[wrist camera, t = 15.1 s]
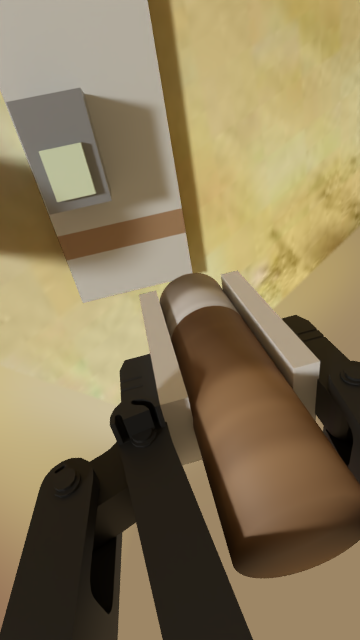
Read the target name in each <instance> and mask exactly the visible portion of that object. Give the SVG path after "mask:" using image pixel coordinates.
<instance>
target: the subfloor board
mask: <svg viewBox="0 0 360 640" xmlns="http://www.w3.org/2000/svg"><path fill="white" fill-rule="evenodd" d="M75 88H81V89H82V91H83V92H84V94H85V98H86V101H87V105H88V109H89V112H90V116H91V120H92V123H93V127H94V130H95V134H96V138H97V141H98V145H99V149H100V152H101V156H102V160H103V163H104V167H105V171H106V174H107V178H108V181H109V185H110V189H111V197H112V201H109V202H105V203H100V204H96V205H91V206H87V207H82V208H78V209H73V210H69V211H65V212H60V213H56V214H51V215H50V214H49V211H48V209H47V206H46V204H45V201H44V199H43V196H42V193H41V191H40V188H39V186H38V183H37V181H36V178H35V175H34V173H33V170H32V168H31V165H30V163H29V160H28V157H27V155H26V152H25V150H24V147H23V144H22V142H21V139H20V137H19V134H18V132H17V129H16V126H15V124H14V121H13V119H12V116H11V114H10V111H9V108H8V106H7V103H6V102H9V101H14V100H19V99H24V98H29V97H34V96H39V95H44V94H50V93H55V92H60V91H65V90H70V89H75ZM0 91H1V93H2V96H3V98H4V101H5V103H6V106H7V109H8V111H9V114H10V116H11V119H12V121H13V124H14V127H15V129H16V132H17V134H18V137H19V139H20V142H21V145H22V147H23V150H24V152H25V155H26V158H27V160H28V163H29V165H30V168H31V170H32V173H33V176H34V178H35V181H36V183H37V186H38V188H39V191H40V194H41V196H42V199H43V201H44V204H45V206H46V209H47V212H48V214H49V217H50V219H51V222H52V224H53V227H54V230H55V232H56V235H57V237H58V240H59V242H60V245H61V248H62V250H63V253H64V255H65V258H66V261H67V263H68V266H69V268H70V271H71V273H72V276H73V279H74V281H75V284H76V286H77V289H78V291H79V294H80V297H81V299H82V302H83V303H85V302H89V301H93V300H97V299H101V298H105V297H109V296H113V295H117V294H121V293H125V292H129V291H133V290H137V289H141V288H146V287H150V286H154V285H158V284H162V283H166V282H170V281H173V280H174V279H176V278H178V277H180V276H182V275H185V274H190V273H192V267H191V261H190V255H189V249H188V243H187V237H186V230H185V224H184V218H183V212H182V206H181V200H180V194H179V188H178V182H177V176H176V170H175V164H174V158H173V152H172V146H171V140H170V134H169V127H168V121H167V115H166V109H165V103H164V97H163V91H162V85H161V79H160V73H159V67H158V61H157V55H156V49H155V43H154V37H153V31H152V24H151V18H150V12H149V6H148V0H0Z"/></svg>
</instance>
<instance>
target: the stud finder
mask: <svg viewBox="0 0 360 640" xmlns="http://www.w3.org/2000/svg"><path fill="white" fill-rule="evenodd" d="M6 103H7V106H8V108H9V111H10V114H11V116H12V119H13V121H14V124H15V126H16V129H17V132H18V134H19V137H20V139H21V142H22V144H23V147H24V150H25V152H26V155H27V157H28V160H29V163H30V165H31V168H32V170H33V173H34V175H35V178H36V181H37V183H38V186H39V188H40V191H41V193H42V196H43V199H44V201H45V204H46V206H47V209H48V211H49V214H50V215H51V214H56V213H60V212H65V211H69V210H73V209H78V208H82V207H87V206H91V205H96V204H100V203H105V202H109V201H112V197H111V189H110V185H109V181H108V178H107V174H106V171H105V167H104V163H103V160H102V156H101V152H100V149H99V145H98V141H97V138H96V134H95V130H94V127H93V123H92V120H91V116H90V112H89V109H88V105H87V101H86V98H85V94H84V92H83V91H82V89H81V88H75V89H70V90H65V91H60V92H55V93H50V94H44V95H39V96H34V97H29V98H24V99H19V100H14V101H9V102H6Z"/></svg>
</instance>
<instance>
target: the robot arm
mask: <svg viewBox="0 0 360 640" xmlns="http://www.w3.org/2000/svg"><path fill="white" fill-rule="evenodd" d="M221 279H222V288H223V291H224V292H225V294H226V295H227V297H228V298H229V300H230V301H231V302H232V304H233V305H234V307H235V308H236V309H237V311H238V312H239V314H240V315H241V317H242V318H243V319H244V321H245V322H246V324H247V325H248V326H249V328H250V329H251V331H252V332H253V334H254V335H255V336H256V338H257V339H258V341H259V342H260V343H261V345H262V346H263V348H264V349H265V351H266V352H267V353H268V355H269V356H270V358H271V359H272V360H273V362H274V363H275V365H276V366H277V368H278V369H279V370H280V372H281V373H282V375H283V376H284V377H285V379H286V380H287V382H288V383H289V385H290V386H291V387H292V389H293V390H294V392H295V393H296V394H297V396H298V397H299V399H300V400H301V402H302V403H303V404H304V406H305V407H306V409H307V410H308V411H309V413H310V414H311V416H312V417H313V419H314V420H315V419H316V415H317V416H318V418H319V419H320V421H321V422H322V423H323V425H324V428H323V433H324V434H325V436H326V437H327V438H328V440H329V441H330V443H331V444H332V445H333V447H334V448H335V450H336V451H337V453H338V454H339V455H340V457H341V458H342V460H343V461H344V462H345V464H346V465H347V467H348V468H349V470H350V471H351V472H352V474H353V475H354V477H355V478H356V479H357V481H358V482H359V484H360V362H357V361H350V360H349V359H348V358H347V357H346V356H345V355H344V354H342V353H341V352H340V351H339V350H338V349H337V348H336V347H335V346H334V345H333V344H332V343H331V342H330V341H329V340H328V339H327V338H326V337H324V336H323V334H322V333H320V331H318V330H317V329H316V328H315V327H314V326H313V325H312V324H311V323H310V322H309V321H308V320H306V319H303V318H301V317H299V316H297V315H294V316H290V317H286V318H283V319H281V318H280V317H279V316H278V314H276V312H275V311H274V310H273V309H272V308H271V307H270V306H269V305H268V304H267V302H266V301H265V300H264V299H263V298H262V297H261V296H260V295H259V294H258V293H257V291H256V290H255V289H254V288H253V287H252V286H251V285H250V284H249V283H248V282H247V280H246V279H245V278H244V277H243V276H242V275H241V274H240V273H239V272H238V271H233V272H229V273H225V274H221ZM139 298H140V303H141V308H142V313H143V319H144V324H145V329H146V334H147V339H148V345H149V350H150V354H148V355H144V356H140V357H136V358H132V359H128V360H125V361H124V363H123V365H122V367H121V369H120V382H121V384H120V386H121V403H120V404H119V405H118V406H117V407H116V408H115V409H114V411H113V413H112V415H111V417H110V427H111V429H112V431H113V433H114V436H115V438H116V440H117V442H116V443H115V444H114V445H113V446H112V447H111V449H109V450H108V451H106V452H105V453H104V454H102V455H101V456H99V457H97V458H95V459H94V460H92V461H90V462H88V461H86V460H84V459H82V458H71V459H68V460H65V461H63V462H61V463H59V464H58V465H57V466H55V467H54V468H52V470H51V471H50V472H49V473H48V474H47V475H46V477H45V478H44V480H43V482H42V484H41V487H40V490H39V493H38V497H37V501H36V504H35V508H34V511H33V515H32V519H31V522H30V526H29V530H28V533H27V537H26V541H25V544H24V548H23V552H22V556H21V559H20V563H19V566H18V570H17V573H16V577H15V581H14V584H13V588H12V592H11V595H10V599H9V603H8V606H7V610H6V614H5V617H4V621H3V625H2V628H1V632H0V640H117V635H118V614H119V593H120V571H121V570H120V569H121V548H122V532H123V531H124V530H126V529H127V528H129V527H130V526H131V525H133V524H134V523H137V528H138V532H139V536H140V541H141V545H142V550H143V554H144V558H145V563H146V567H147V572H148V576H149V581H150V585H151V589H152V594H153V598H154V602H155V607H156V612H157V616H158V620H159V624H160V629H161V634H162V638H163V640H253V639H252V636H251V634H250V631H249V629H248V626H247V624H246V621H245V619H244V616H243V614H242V612H241V609H240V607H239V604H238V602H237V599H236V597H235V595H234V592H233V590H232V587H231V584H230V583H229V580H228V577H227V575H226V572H225V570H224V568H223V565H222V562H221V560H220V557H219V555H218V552H217V550H216V548H215V545H214V543H213V540H212V538H211V535H210V533H209V530H208V528H207V526H206V523H205V521H204V518H203V516H202V513H201V511H200V508H199V506H198V503H197V501H196V498H195V496H194V493H193V491H192V489H191V486H190V484H189V481H188V479H187V476H186V474H185V471H184V469H183V467H182V465H185V464H189V463H192V462H195V461H199V460H202V457H201V453H200V449H199V446H198V442H197V439H196V435H195V432H194V428H193V416H192V412H191V408H190V403H189V399H188V395H187V392H186V388H185V385H184V382H183V378H182V375H181V372H180V369H179V365H178V362H177V359H176V355H175V352H174V349H173V345H172V342H171V339H170V335H169V332H168V329H167V325H166V322H165V319H164V316H163V312H162V309H161V306H160V302H159V299H158V296H157V292H156V291H152V292H148V293H144V294H140V295H139Z"/></svg>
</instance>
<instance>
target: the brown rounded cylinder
mask: <svg viewBox="0 0 360 640" xmlns="http://www.w3.org/2000/svg"><path fill="white" fill-rule="evenodd" d="M160 306H161V309H162V312H163V316H164V319H165V322H166V325H167V329H168V332H169V335H170V339H171V342H172V345H173V349H174V352H175V355H176V359H177V362H178V365H179V369H180V372H181V375H182V378H183V382H184V385H185V388H186V392H187V395H188V399H189V403H190V408H191V412H192V416H193V428H194V432H195V435H196V439H197V442H198V446H199V449H200V453H201V456H202V459H203V463H204V466H205V470H206V473H207V477H208V480H209V484H210V487H211V490H212V494H213V497H214V501H215V504H216V508H217V512H218V515H219V519H220V522H221V525H222V529H223V532H224V536H225V539H226V543H227V546H228V550H229V553H230V557H231V560H232V564H233V566H234V568H235V570H236V571H237V572H239V573H240V574H242V575H244V576H248V577H252V578H274V577H282V576H287V575H291V574H295V573H298V572H302V571H305V570H308V569H310V568H313V567H315V566H318V565H320V564H322V563H324V562H326V561H329V560H331V559H332V558H334V557H336V556H338V555H340V554H341V553H343V552H344V551H346V550H347V549H349V548H350V547H351V546H353V545H354V544H355V543H357V542H358V541H359V540H360V484H359V482H358V481H357V479H356V478H355V477H354V475H353V474H352V472H351V471H350V470H349V468H348V467H347V465H346V464H345V462H344V461H343V460H342V458H341V457H340V455H339V454H338V453H337V451H336V450H335V448H334V447H333V445H332V444H331V443H330V441H329V440H328V438H327V437H326V436H325V434H324V433H323V431H322V430H321V428H320V427H319V426H318V424H317V423H316V421H315V420H314V419H313V417H312V416H311V414H310V413H309V411H308V410H307V409H306V407H305V406H304V404H303V403H302V402H301V400H300V399H299V397H298V396H297V394H296V393H295V392H294V390H293V389H292V387H291V386H290V385H289V383H288V382H287V380H286V379H285V377H284V376H283V375H282V373H281V372H280V370H279V369H278V368H277V366H276V365H275V363H274V362H273V360H272V359H271V358H270V356H269V355H268V353H267V352H266V351H265V349H264V348H263V346H262V345H261V343H260V342H259V341H258V339H257V338H256V336H255V335H254V334H253V332H252V331H251V329H250V328H249V326H248V325H247V324H246V322H245V321H244V319H243V318H242V317H241V315H240V314H239V312H238V311H237V309H236V308H235V307H234V305H233V304H232V302H231V301H230V300H229V298H228V297H227V295H226V294H225V292H224V291H223V290H222V288H221V287H220V285H219V284H218V283H217V282H216V281H215V280H214V279H213V278H211V277H210V276H208V275H205V274H200V273H190V274H185V275H182V276H180V277H178V278H176V279H174V280H173V281H172V282H170V283H169V284H168V285H167V287H166V288H165V289H164V291H163V293H162V295H161V298H160Z"/></svg>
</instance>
